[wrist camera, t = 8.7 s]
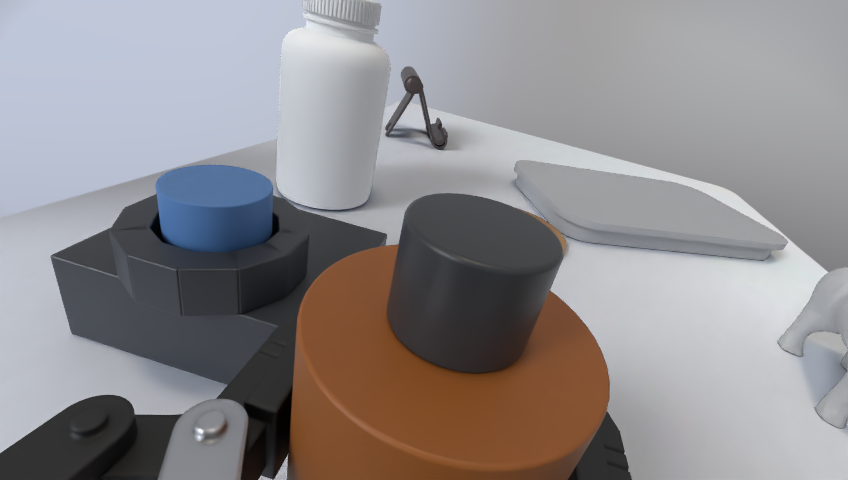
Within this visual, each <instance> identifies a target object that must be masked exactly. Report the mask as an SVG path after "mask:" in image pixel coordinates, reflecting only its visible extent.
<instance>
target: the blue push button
mask: <svg viewBox="0 0 848 480" xmlns="http://www.w3.org/2000/svg"><path fill="white" fill-rule="evenodd" d="M156 193H157V201H158V209H159V217H160V226H161V234H162V237H163V239H164V240H165V242H166V243H167V244H169V245H173V246H176V247H179V248H183V249H186V250H189V251H193V252H233V251H237V250H241V249H245V248H248V247H252V246H256V245H260V244H264V243H265V242H266V241H267V240H268V239H269V238H270V236H271V234H272V213H273V185H272V183H271V182H270V180H269V179H267V178H266V177H265V176H263V175H261V174H259V173H257V172H254V171H251V170H248V169H244V168H239V167H233V166H224V165H198V166H189V167H183V168H179V169H175V170H172V171H170V172H167V173H165V174H164V175H162V176H161V177H160V178H159V179H158V180H157V182H156Z"/></svg>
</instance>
